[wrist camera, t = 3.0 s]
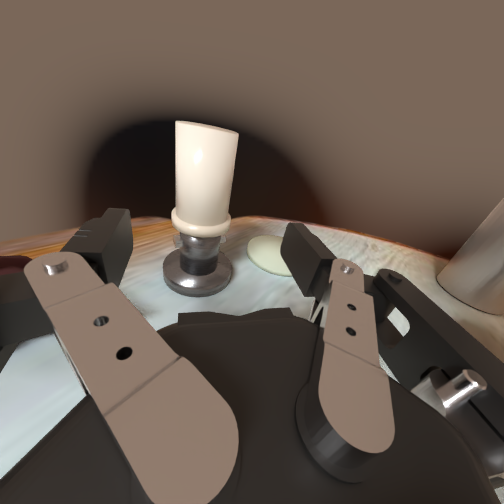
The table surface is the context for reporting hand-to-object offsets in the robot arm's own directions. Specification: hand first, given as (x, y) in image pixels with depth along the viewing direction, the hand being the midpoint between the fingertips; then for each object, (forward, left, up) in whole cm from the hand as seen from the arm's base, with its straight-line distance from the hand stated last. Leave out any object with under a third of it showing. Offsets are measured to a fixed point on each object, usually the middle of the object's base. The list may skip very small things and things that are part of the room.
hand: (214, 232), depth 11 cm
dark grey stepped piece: (-3, -11, -12) cm, 17 cm away
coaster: (-16, -12, -12) cm, 23 cm away
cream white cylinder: (-3, -11, -5) cm, 12 cm away
